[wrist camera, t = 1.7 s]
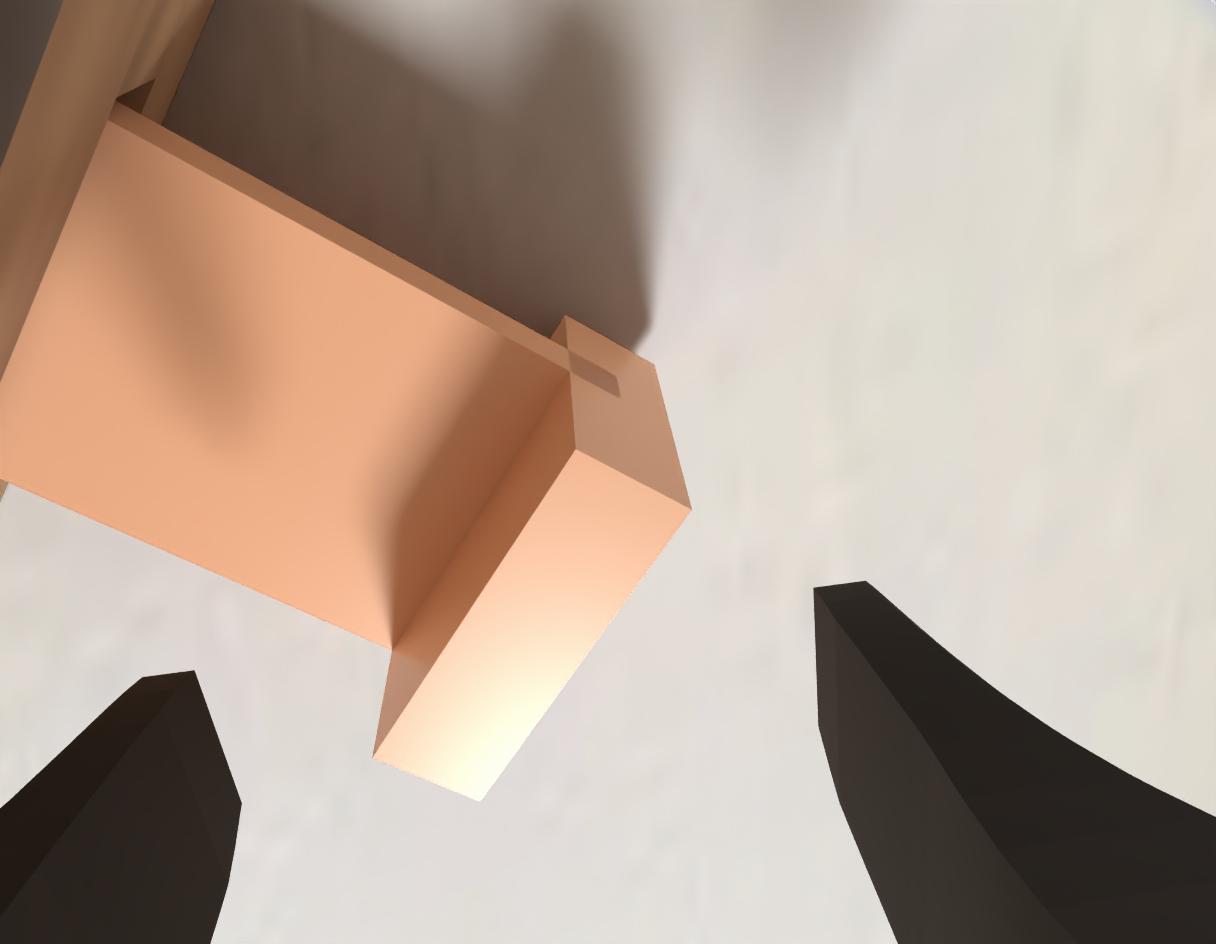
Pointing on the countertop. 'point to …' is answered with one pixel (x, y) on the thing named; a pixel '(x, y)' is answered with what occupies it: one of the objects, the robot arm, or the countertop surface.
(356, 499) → the peach l-shaped bracket
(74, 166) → the dispenser
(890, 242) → the countertop surface
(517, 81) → the countertop surface
